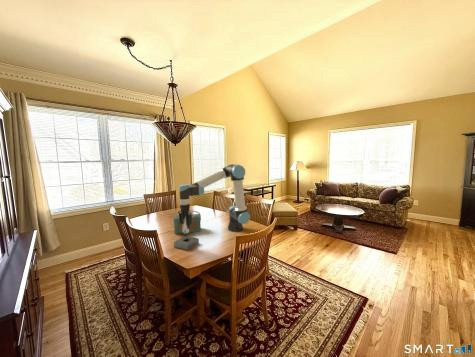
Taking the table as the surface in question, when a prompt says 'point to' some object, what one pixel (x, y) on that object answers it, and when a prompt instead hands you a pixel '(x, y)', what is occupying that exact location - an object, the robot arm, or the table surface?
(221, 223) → the table surface
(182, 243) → the chuck block
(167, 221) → the table surface
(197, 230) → the radio
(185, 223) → the chuck key
